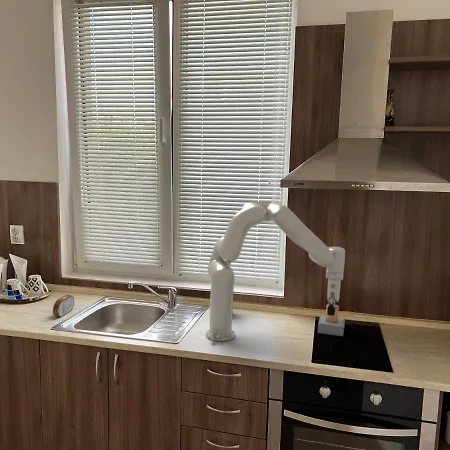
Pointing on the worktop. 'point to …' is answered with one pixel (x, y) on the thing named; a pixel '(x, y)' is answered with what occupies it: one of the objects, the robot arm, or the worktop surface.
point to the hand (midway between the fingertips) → (331, 311)
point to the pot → (332, 318)
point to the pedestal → (331, 326)
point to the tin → (63, 305)
